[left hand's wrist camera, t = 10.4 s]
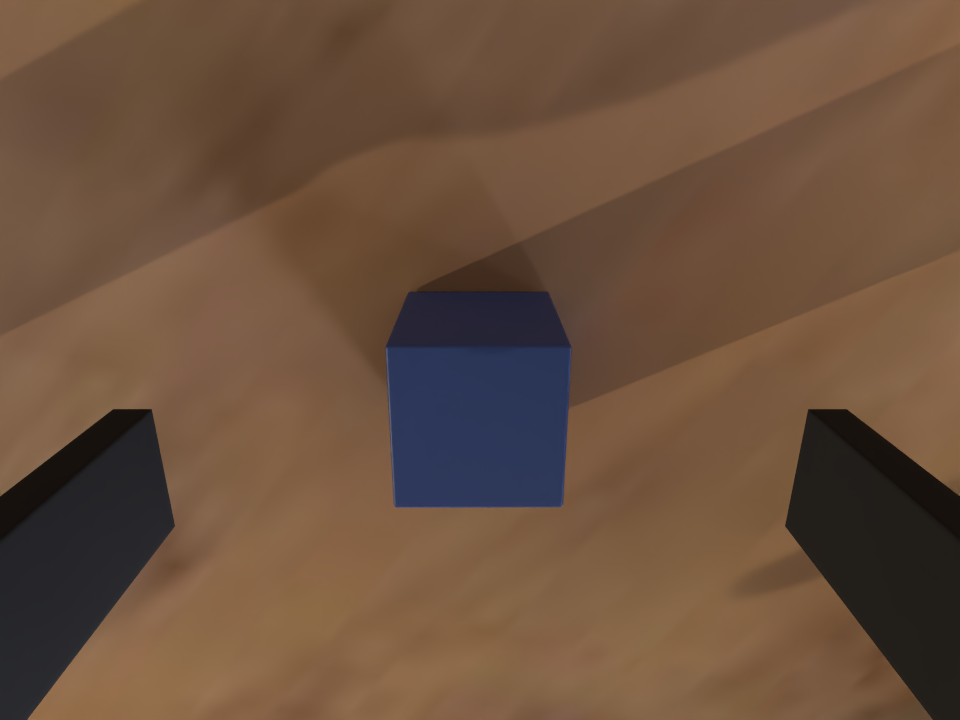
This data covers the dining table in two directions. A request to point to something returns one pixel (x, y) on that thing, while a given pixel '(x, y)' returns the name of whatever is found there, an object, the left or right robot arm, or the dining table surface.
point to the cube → (478, 400)
